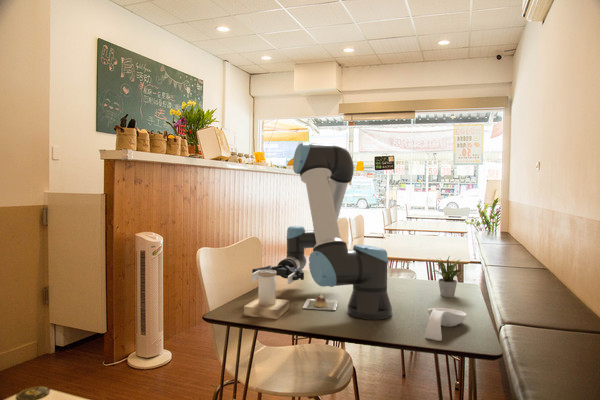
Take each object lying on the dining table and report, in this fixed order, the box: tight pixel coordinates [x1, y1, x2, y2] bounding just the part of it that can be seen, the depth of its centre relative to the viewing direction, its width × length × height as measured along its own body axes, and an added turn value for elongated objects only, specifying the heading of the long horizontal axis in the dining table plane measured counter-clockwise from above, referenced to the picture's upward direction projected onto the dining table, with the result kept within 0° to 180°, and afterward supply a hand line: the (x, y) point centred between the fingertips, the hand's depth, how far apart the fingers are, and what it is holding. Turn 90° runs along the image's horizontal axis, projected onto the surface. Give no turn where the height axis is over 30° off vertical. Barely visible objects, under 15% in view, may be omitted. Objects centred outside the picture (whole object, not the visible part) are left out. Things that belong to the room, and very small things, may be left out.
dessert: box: [302, 293, 340, 311], centre depth 149 cm, size 12×12×5 cm
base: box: [243, 296, 290, 320], centre depth 140 cm, size 12×12×3 cm
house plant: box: [427, 255, 464, 298], centre depth 163 cm, size 14×14×16 cm
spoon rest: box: [424, 307, 468, 342], centre depth 125 cm, size 24×12×7 cm, turn 149°
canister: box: [257, 270, 278, 306], centre depth 140 cm, size 6×6×11 cm
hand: (270, 278), depth 143 cm, fingers open, 13 cm apart
